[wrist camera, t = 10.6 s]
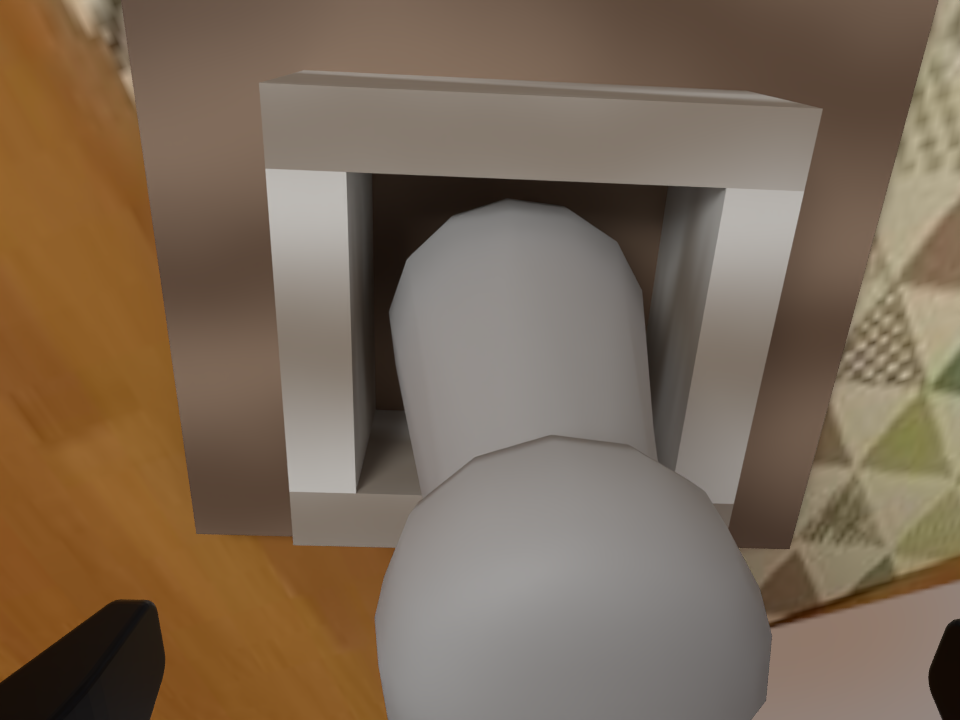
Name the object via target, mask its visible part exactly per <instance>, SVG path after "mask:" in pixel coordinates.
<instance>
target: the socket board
mask: <svg viewBox="0 0 960 720" xmlns="http://www.w3.org/2000/svg"><path fill="white" fill-rule="evenodd" d="M121 2H122V9H123V16H124V23H125V30H126V37H127V44H128V51H129V59H130V66H131V73H132V80H133V87H134V94H135V101H136V108H137V115H138V122H139V129H140V137H141V144H142V151H143V158H144V165H145V172H146V179H147V186H148V193H149V200H150V207H151V215H152V222H153V229H154V236H155V243H156V250H157V257H158V264H159V271H160V278H161V285H162V293H163V300H164V307H165V314H166V321H167V328H168V335H169V342H170V349H171V356H172V363H173V371H174V378H175V385H176V392H177V399H178V406H179V413H180V420H181V427H182V434H183V441H184V449H185V456H186V463H187V470H188V477H189V484H190V491H191V498H192V505H193V512H194V519H195V527H196V534H223V535H262V536H293V545H314V546H354V547H393V548H396V546H397V544H398V541H399V539H400V536H401V534H402V531H403V529H404V526H405V524H406V521H407V519H408V516H409V514H410V513H411V512H412V510H413V509H414V508H415V506H416V505H417V504H418V502H419V501H420V500H422V499H423V498H422V493H421V488H420V484H419V479H418V474H417V469H416V464H415V459H414V454H413V449H412V444H411V439H410V434H409V429H408V424H407V419H406V414H405V409H404V404H403V399H402V394H401V389H400V384H399V379H398V374H397V369H396V364H395V356H394V349H393V341H392V333H391V326H390V318H389V310H390V307H391V304H392V301H393V298H394V295H395V292H396V289H397V286H398V284H399V281H400V278H401V275H402V272H403V269H404V266H405V263H406V260H407V259H408V258H409V257H410V256H411V254H412V253H414V252H415V251H416V250H417V249H418V248H419V247H420V246H421V245H422V244H423V243H424V242H425V241H426V240H427V239H428V238H429V237H430V236H431V235H433V234H434V233H435V232H436V231H437V230H438V229H439V228H440V227H441V226H442V225H443V224H444V223H445V222H446V221H447V220H448V219H449V218H450V217H452V216H453V215H456V214H459V213H463V212H466V211H469V210H472V209H475V208H478V207H481V206H484V205H488V204H491V203H494V202H497V201H500V200H503V199H506V198H509V199H516V200H524V201H531V202H538V203H545V204H552V205H559V206H565V207H566V208H568V209H569V210H571V211H572V212H574V213H575V214H577V215H578V216H580V217H581V218H583V219H584V220H586V221H587V222H589V223H590V224H592V225H593V226H594V227H596V228H597V229H599V230H600V231H602V232H603V233H605V234H606V235H608V236H609V237H611V238H612V239H614V240H615V241H617V243H618V244H619V246H620V248H621V250H622V252H623V254H624V256H625V258H626V260H627V262H628V264H629V266H630V268H631V270H632V272H633V274H634V276H635V278H636V280H637V282H638V284H639V286H640V287H641V289H642V295H643V307H644V319H645V331H646V343H647V355H648V367H649V380H650V392H651V404H652V416H653V428H654V436H655V443H656V451H657V458H658V462H659V463H661V464H662V465H664V466H666V467H668V468H669V469H671V470H673V471H674V472H676V473H678V474H679V475H681V476H683V477H685V478H686V479H688V480H690V481H691V482H692V483H694V484H695V485H697V486H698V487H700V488H701V489H702V490H704V491H705V492H706V493H707V495H708V497H709V498H710V500H711V501H712V503H713V505H714V506H715V508H716V510H717V511H718V513H719V514H720V516H721V518H722V519H723V521H724V523H725V524H726V526H727V528H728V530H729V531H730V533H731V535H732V537H733V539H734V541H735V543H736V545H737V547H738V548H768V549H790V545H791V542H792V538H793V534H794V530H795V527H796V523H797V519H798V516H799V512H800V508H801V505H802V501H803V497H804V494H805V490H806V486H807V483H808V479H809V475H810V472H811V468H812V464H813V460H814V457H815V453H816V449H817V446H818V442H819V438H820V435H821V431H822V427H823V424H824V420H825V416H826V413H827V409H828V405H829V402H830V398H831V394H832V390H833V387H834V383H835V379H836V376H837V372H838V368H839V365H840V361H841V357H842V354H843V350H844V346H845V343H846V339H847V335H848V332H849V328H850V324H851V320H852V317H853V313H854V309H855V306H856V302H857V298H858V295H859V291H860V287H861V284H862V280H863V276H864V273H865V269H866V265H867V261H868V258H869V254H870V250H871V247H872V243H873V239H874V236H875V232H876V228H877V225H878V221H879V217H880V214H881V210H882V206H883V203H884V199H885V195H886V191H887V188H888V184H889V180H890V177H891V173H892V169H893V166H894V162H895V158H896V155H897V151H898V147H899V144H900V140H901V136H902V133H903V129H904V125H905V121H906V118H907V114H908V110H909V107H910V103H911V99H912V96H913V92H914V88H915V85H916V81H917V77H918V74H919V70H920V66H921V63H922V59H923V55H924V51H925V48H926V44H927V40H928V37H929V33H930V29H931V26H932V22H933V18H934V15H935V11H936V7H937V4H938V0H121Z"/></svg>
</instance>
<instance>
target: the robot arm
mask: <svg viewBox="0 0 960 720" xmlns="http://www.w3.org/2000/svg"><path fill="white" fill-rule="evenodd" d="M164 669H165V652H164V646H163V640H162V635H161V629H160V623H159V618H158V612H157V609H156V606H155V605H154V603H153V602H151V601H149V600H123V599H120V600H115V601H113V602H111V603H109V604H108V605H106V606H105V607H103V608H102V609H101V610H99V611H98V612H97V613H95V614H94V615H92V616H91V617H90V618H88V619H87V620H86V621H84V622H83V623H81V624H80V625H79V626H77V627H76V628H75V629H73V630H72V631H71V632H69V633H68V634H66V635H65V636H64V637H62V638H61V639H60V640H58V641H57V642H55V643H54V644H53V645H51V646H50V647H49V648H47V649H46V650H44V651H43V652H42V653H40V654H39V655H38V656H36V657H35V658H34V659H32V660H31V661H29V662H28V663H27V664H25V665H24V666H23V667H21V668H20V669H18V670H17V671H16V672H14V673H13V674H12V675H10V676H9V677H8V678H6V679H5V680H3V681H2V682H1V683H0V720H150V717H151V714H152V711H153V708H154V704H155V701H156V698H157V695H158V691H159V688H160V685H161V682H162V678H163V674H164ZM928 678H929V687H930V690H931V694H932V696H933V699H934V700H935V703H936V706H937V708H938V711H939V713H940V715H941V718H942V720H960V619H956V620H953V621H952V622H951V623H949V624H948V625H947V627H946V629H945V631H944V634H943V636H942V639H941V641H940V644H939V646H938V649H937V651H936V654H935V656H934V659H933V661H932V664H931V666H930V669H929V676H928Z"/></svg>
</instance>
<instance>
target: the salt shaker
mask: <svg viewBox="0 0 960 720" xmlns="http://www.w3.org/2000/svg"><path fill="white" fill-rule="evenodd" d="M389 318H390V326H391V333H392V341H393V349H394V356H395V364H396V369H397V374H398V379H399V384H400V389H401V394H402V399H403V404H404V409H405V414H406V419H407V424H408V429H409V434H410V439H411V444H412V449H413V454H414V459H415V464H416V469H417V474H418V479H419V484H420V488H421V493H422V498H423V499H422V500H420V501H419V502H418V504H417V505H416V506H415V508H414V509H413V510H412V512H411V513H410V514H409V516H408V519H407V521H406V524H405V526H404V529H403V531H402V534H401V536H400V539H399V541H398V544H397V546H396V549H395V551H394V554H393V556H392V559H391V561H390V564H389V566H388V569H387V571H386V574H385V576H384V580H383V584H382V588H381V593H380V597H379V601H378V606H377V610H376V614H375V627H376V639H377V652H378V665H379V671H380V676H381V682H382V688H383V694H384V699H385V705H386V711H387V717H388V720H751V719H752V718H753V717H754V715H755V714H756V713H757V711H758V710H759V709H760V708H761V706H762V705H763V704H764V702H765V701H766V695H767V683H768V673H769V661H770V651H771V640H772V634H771V630H770V626H769V623H768V619H767V615H766V611H765V607H764V603H763V599H762V595H761V591H760V588H759V586H758V584H757V582H756V580H755V578H754V577H753V575H752V573H751V571H750V569H749V567H748V565H747V563H746V562H745V560H744V558H743V556H742V554H741V552H740V550H739V548H738V547H737V545H736V543H735V541H734V539H733V537H732V535H731V533H730V531H729V530H728V528H727V526H726V524H725V523H724V521H723V519H722V518H721V516H720V514H719V513H718V511H717V510H716V508H715V506H714V505H713V503H712V501H711V500H710V498H709V497H708V495H707V493H706V492H705V491H704V490H702V489H701V488H700V487H698V486H697V485H695V484H694V483H692V482H691V481H690V480H688V479H686V478H685V477H683V476H681V475H679V474H678V473H676V472H674V471H673V470H671V469H669V468H668V467H666V466H664V465H662V464H661V463H659V462H658V458H657V451H656V443H655V436H654V428H653V416H652V404H651V392H650V380H649V367H648V355H647V343H646V331H645V319H644V307H643V295H642V289H641V287H640V286H639V284H638V282H637V280H636V278H635V276H634V274H633V272H632V270H631V268H630V266H629V264H628V262H627V260H626V258H625V256H624V254H623V252H622V250H621V248H620V246H619V244H618V243H617V241H615V240H614V239H612V238H611V237H609V236H608V235H606V234H605V233H603V232H602V231H600V230H599V229H597V228H596V227H594V226H593V225H592V224H590V223H589V222H587V221H586V220H584V219H583V218H581V217H580V216H578V215H577V214H575V213H574V212H572V211H571V210H569V209H568V208H566V207H565V206H559V205H552V204H545V203H538V202H531V201H524V200H516V199H509V198H506V199H503V200H500V201H497V202H494V203H491V204H488V205H484V206H481V207H478V208H475V209H472V210H469V211H466V212H463V213H459V214H456V215H453V216H452V217H450V218H449V219H448V220H447V221H446V222H445V223H444V224H443V225H442V226H441V227H440V228H439V229H438V230H437V231H436V232H435V233H434V234H433V235H431V236H430V237H429V238H428V239H427V240H426V241H425V242H424V243H423V244H422V245H421V246H420V247H419V248H418V249H417V250H416V251H415V252H414V253H412V254H411V256H410V257H409V258H408V259H407V260H406V263H405V266H404V269H403V272H402V275H401V278H400V281H399V284H398V286H397V289H396V292H395V295H394V298H393V301H392V304H391V307H390V310H389Z"/></svg>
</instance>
